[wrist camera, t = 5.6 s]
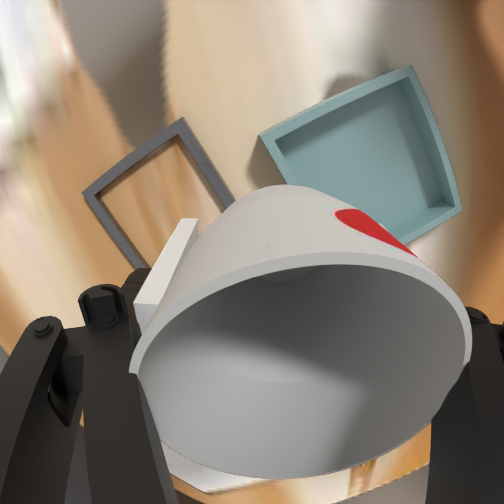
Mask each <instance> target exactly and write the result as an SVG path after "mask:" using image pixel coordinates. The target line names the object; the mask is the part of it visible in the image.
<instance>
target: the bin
mask: <svg viewBox="0 0 504 504" xmlns="http://www.w3.org/2000/svg"><path fill="white" fill-rule="evenodd" d="M259 136H260V138H261V139H262V141H263V143H264V144H265V146H266V148H267V150H268V151H269V153H270V155H271V156H272V158H273V160H274V162H275V163H276V165H277V167H278V169H279V170H280V172H281V174H282V176H283V177H284V179H285V181H286V183H287V184H288V185H300V186H305V187H309V188H312V189H315V190H318V191H320V192H322V193H325V194H327V195H329V196H331V197H334V198H336V199H338V200H340V201H343V202H345V203H347V204H349V205H351V206H353V207H355V208H357V209H359V210H361V211H362V212H364V213H365V214H367V215H368V216H369V217H371V218H372V219H373V220H374V221H376V222H377V223H378V224H382V225H383V226H384V227H385V228H386V229H387V230H388V232H389V233H390V234H391V235H393V236H394V237H395V238H396V239H397V240H398V241H400V242H401V243H402V244H403V245H405V244H407V243H409V242H411V241H412V240H414V239H416V238H417V237H419V236H421V235H423V234H424V233H426V232H428V231H429V230H431V229H433V228H434V227H436V226H438V225H439V224H441V223H443V222H444V221H446V220H448V219H449V218H451V217H453V216H454V215H456V214H458V213H459V212H461V211H462V205H461V201H460V197H459V193H458V189H457V185H456V182H455V178H454V175H453V171H452V168H451V164H450V161H449V158H448V155H447V152H446V148H445V145H444V142H443V140H442V137H441V134H440V131H439V128H438V126H437V123H436V120H435V118H434V115H433V113H432V110H431V108H430V105H429V103H428V100H427V98H426V95H425V93H424V91H423V89H422V86H421V84H420V82H419V80H418V78H417V75H416V73H415V71H414V69H413V67H412V65H410V66H405V67H401V68H396V69H394V70H392V71H389V72H387V73H384V74H382V75H379V76H377V77H375V78H372V79H370V80H368V81H365V82H363V83H361V84H359V85H356V86H354V87H352V88H350V89H347V90H345V91H343V92H341V93H339V94H337V95H334V96H332V97H330V98H328V99H326V100H324V101H322V102H320V103H318V104H316V105H314V106H312V107H310V108H308V109H306V110H304V111H302V112H300V113H298V114H296V115H294V116H292V117H290V118H288V119H286V120H284V121H282V122H280V123H279V124H277V125H275V126H273V127H271V128H269V129H267V130H266V131H264V132H262V133H260V134H259Z"/></svg>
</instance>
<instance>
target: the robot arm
mask: <svg viewBox="0 0 504 504" xmlns="http://www.w3.org/2000/svg"><path fill="white" fill-rule="evenodd" d="M379 225H381V226H382V227H383V228H384V229H385V230H387V229H386V228H385V227H384V226H383V225H382V224H379ZM387 231H388V230H387ZM198 238H199V224H198V219H181V220H180V222H179V224H178V225H177V227H176V229H175V230H174V232H173V234H172V235H171V237H170V239H169V240H168V242H167V244H166V245H165V247H164V249H163V251H162V252H161V254H160V256H159V257H158V259H157V261H156V263H155V264H154V266H153V268H138V269H137V270H135V271H134V272H132V273H131V274H130V275H129V276H128V278H127V279H126V281H125V284H123V285H122V287H121V288H120V287H118V286H116V285H112V284H101V285H97V286H93V287H91V288H89V289H87V290H85V291H84V292H83V293H82V294H81V295H80V297H79V299H78V303H79V306H80V309H81V312H82V315H83V318H84V321H85V324H86V325H85V326H83V327H76V328H68V329H64V328H63V326H62V323H61V321H60V320H59V319H58V318H57V317H53V316H46V317H40V318H38V319H36V320H34V321H33V322H31V323H30V324H29V325H28V326H27V328H26V329H25V331H24V332H23V334H22V336H21V337H20V339H19V341H18V343H17V344H16V346H15V348H14V350H13V351H12V353H11V355H10V357H9V359H8V361H7V363H6V364H5V366H4V368H3V370H2V372H1V374H0V504H64V502H65V494H66V489H67V482H68V476H69V471H70V465H71V460H72V455H73V449H74V445H75V440H76V436H77V432H78V427H79V423H80V419H81V415H82V411H83V415H84V435H85V449H86V460H87V470H88V478H89V485H90V492H91V499H92V504H179V501H178V498H177V496H176V492H175V489H174V486H173V483H172V480H171V477H170V473H169V470H168V467H167V463H166V460H165V456H164V453H163V449H162V445H161V442H160V438H159V434H158V431H157V428H156V425H155V422H154V419H153V416H152V413H151V410H150V407H149V404H148V401H147V398H146V395H145V392H144V390H143V387H142V385H141V383H140V381H139V379H138V377H137V374H134V373H129V367H130V362H131V358H132V355H133V353H134V350H135V348H136V346H137V344H138V342H139V340H140V338H141V336H142V334H143V332H144V330H145V328H146V327H147V325H148V323H149V321H150V319H151V317H152V315H153V314H154V312H155V310H156V308H157V306H158V304H159V303H160V301H161V299H162V297H163V295H164V294H165V292H166V290H167V288H168V286H169V285H170V283H171V281H172V279H173V278H174V276H175V274H176V272H177V270H178V269H179V267H180V265H181V263H182V262H183V260H184V258H185V257H186V255H187V253H188V251H189V250H190V248H191V247H192V245H193V244H194V243H195V241H196V240H197V239H198ZM465 309H466V311H467V314H468V317H469V320H470V324H471V330H472V350H471V356H470V361H469V362H468V363H467V364H466V366H465V368H464V370H463V372H462V373H461V375H460V377H459V379H458V380H457V382H456V383H455V384H454V385H453V386H452V388H451V389H450V391H449V392H448V394H447V396H446V397H445V399H444V401H443V403H442V405H441V407H440V409H439V410H438V412H437V413H436V415H435V416H434V418H433V419H432V422H431V450H430V465H429V476H428V486H427V494H426V502H425V504H504V322H503V324H502V325H499V324H492V323H490V321H489V319H488V317H487V316H486V315H485V314H484V313H483V312H481V311H479V310H478V309H475V308H472V307H465Z"/></svg>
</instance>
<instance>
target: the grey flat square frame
mask: <svg viewBox="0 0 504 504" xmlns="http://www.w3.org/2000/svg"><path fill="white" fill-rule="evenodd" d="M177 134H179V136H180V138H181V139H182V141H183V142H184V144H185V145H186V147H187V149H188V150H189V152H190V153H191V155H192V156H193V158H194V159H195V161H196V163H197V164H198V166H199V167H200V169H201V170H202V172H203V173H204V175H205V177H206V178H207V180H208V181H209V183H210V184H211V186H212V188H213V189H214V191H215V192H216V194H217V195H218V197H219V198H220V200H221V202H222V203H223V205H224V206H225V208H226V209H227V208H228V207H229V206H230V205H231V204H233V203H234V202H235V201H236V200H235V198H234V197H233V195H232V193H231V192H230V190H229V189H228V187H227V185H226V184H225V182H224V181H223V179H222V177H221V176H220V174H219V173H218V171H217V169H216V168H215V166H214V165H213V163H212V162H211V160H210V158H209V157H208V155H207V154H206V152H205V150H204V149H203V147H202V146H201V144H200V143H199V141H198V139H197V138H196V136H195V135H194V133H193V132H192V130H191V128H190V127H189V125H188V124H187V122H186V121H185V119H184V117H181V118H180V119H178V120H177V121H175V122H174V123H172V124H171V125H169V126H168V127H166V128H165V129H164V130H162V131H161V132H159V133H158V134H156V135H155V136H153V137H152V138H151V139H149V140H148V141H146V142H145V143H144V144H142V145H141V146H140V147H138V148H137V149H135V150H134V151H133V152H131V153H130V154H129V155H127V156H126V157H125V158H124V159H122V160H121V161H120V162H118V163H117V164H116V165H115V166H113V167H112V168H111V169H109V170H108V171H107V172H106V173H105V174H103V175H102V176H101V177H100V178H98V179H97V180H96V181H95V182H94V183H92V184H91V185H90V186H89V187H88V188H86V189H85V190H84V191H83V192H82V194H83V196H84V197H85V199H86V200H87V202H88V203H89V205H90V206H91V208H92V209H93V210H94V212H95V213H96V215H97V216H98V218H99V219H100V221H101V222H102V223H103V225H104V226H105V228H106V229H107V231H108V232H109V233H110V235H111V236H112V238H113V239H114V240H115V242H116V243H117V244H118V246H119V247H120V248H121V250H122V251H123V253H124V254H125V255H126V257H127V258H128V259H129V261H130V262H131V263H132V264H133V266H134V267H135V268H136V270H137V269H138V268H150V266H149V265H148V264H147V262H146V261H145V260H144V258H143V257H142V256H141V254H140V253H139V252H138V250H137V249H136V248H135V246H134V245H133V243H132V242H131V241H130V239H129V238H128V237H127V235H126V234H125V232H124V231H123V230H122V228H121V227H120V225H119V224H118V223H117V221H116V220H115V218H114V217H113V215H112V214H111V213H110V211H109V210H108V208H107V207H106V205H105V204H104V202H103V201H102V199H101V198H100V196H99V195H98V192H99V191H101V190H102V189H103V188H104V187H106V186H107V185H108V184H109V183H111V182H112V181H113V180H115V179H116V178H117V177H118V176H120V175H121V174H122V173H124V172H125V171H126V170H128V169H129V168H130V167H132V166H133V165H134V164H136V163H137V162H138V161H140V160H141V159H143V158H144V157H145V156H147V155H148V154H150V153H151V152H152V151H154V150H155V149H157V148H158V147H159V146H161V145H162V144H164V143H165V142H167V141H168V140H170V139H171V138H173V137H174V136H176V135H177Z"/></svg>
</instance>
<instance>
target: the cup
mask: <svg viewBox="0 0 504 504" xmlns="http://www.w3.org/2000/svg"><path fill="white" fill-rule="evenodd" d="M471 350H472V330H471V324H470V320H469V317H468V314H467V311H466V309H465V307H464V305H463V303H462V302H461V300H460V299H459V297H458V296H457V295H456V293H455V292H454V291H453V290H452V289H451V288H450V287H449V286H448V285H447V284H446V283H445V282H444V281H443V280H442V279H441V278H440V277H439V276H438V275H436V274H435V273H434V272H433V271H432V270H431V269H430V268H429V267H428V266H427V265H426V264H425V263H423V262H422V261H421V260H420V259H419V258H418V257H417V256H416V255H414V254H413V253H412V252H411V251H410V250H409V249H408V248H407V247H405V246H404V245H403V244H402V243H401V242H400V241H398V240H397V239H396V238H395V237H394V236H393V235H391V234H390V233H389V232H388V231H387V230H385V229H384V228H383V227H382V226H381V225H379V224H378V223H377V222H376V221H374V220H373V219H372V218H371V217H369V216H368V215H367V214H365V213H364V212H362V211H361V210H359V209H357V208H355V207H353V206H351V205H349V204H347V203H345V202H343V201H340V200H338V199H336V198H334V197H331V196H329V195H327V194H325V193H322V192H320V191H318V190H315V189H312V188H309V187H305V186H300V185H288V184H286V185H273V186H268V187H264V188H261V189H258V190H255V191H252V192H250V193H248V194H246V195H244V196H243V197H241V198H239V199H238V200H237V201H235V202H234V203H233V204H231V205H230V206H229V207H228V208H227V209H226V210H225V211H224V212H223V213H222V214H221V215H220V216H219V217H218V218H217V219H216V220H215V221H214V222H213V223H212V224H211V225H210V226H209V227H208V228H207V229H206V230H205V231H204V232H203V233H202V234H201V236H200V237H199V238H198V239H197V240H196V241H195V243H194V244H193V245H192V247H191V248H190V250H189V251H188V253H187V255H186V257H185V258H184V260H183V262H182V263H181V265H180V267H179V269H178V270H177V272H176V274H175V276H174V278H173V279H172V281H171V283H170V285H169V286H168V288H167V290H166V292H165V294H164V295H163V297H162V299H161V301H160V303H159V304H158V306H157V308H156V310H155V312H154V314H153V315H152V317H151V319H150V321H149V323H148V325H147V327H146V328H145V330H144V332H143V334H142V336H141V338H140V340H139V342H138V344H137V346H136V348H135V350H134V353H133V355H132V358H131V362H130V367H129V373H134V374H137V377H138V379H139V381H140V383H141V385H142V387H143V390H144V392H145V395H146V398H147V401H148V404H149V407H150V410H151V413H152V416H153V419H154V422H155V425H156V428H157V431H158V434H159V438H160V440H161V441H162V442H163V443H164V444H166V445H167V446H168V447H170V448H171V449H173V450H174V451H176V452H177V453H179V454H180V455H182V456H184V457H186V458H188V459H190V460H192V461H194V462H196V463H199V464H201V465H204V466H206V467H209V468H212V469H215V470H218V471H222V472H226V473H230V474H234V475H239V476H245V477H253V478H264V479H294V478H305V477H313V476H319V475H325V474H330V473H334V472H338V471H342V470H345V469H349V468H352V467H355V466H358V465H361V464H363V463H366V462H368V461H371V460H373V459H375V458H378V457H380V456H382V455H384V454H386V453H388V452H390V451H391V450H393V449H395V448H397V447H398V446H400V445H402V444H403V443H405V442H406V441H408V440H409V439H411V438H412V437H413V436H415V435H416V434H417V433H419V432H420V431H421V430H422V429H424V428H425V427H426V426H427V425H428V424H429V423H430V422H432V419H433V418H434V416H435V415H436V413H437V412H438V410H439V409H440V407H441V405H442V403H443V401H444V399H445V397H446V396H447V394H448V392H449V391H450V389H451V388H452V386H453V385H454V384H455V383H456V382H457V380H458V379H459V377H460V375H461V373H462V372H463V370H464V368H465V366H466V364H467V363H468V362H469V361H470V356H471Z"/></svg>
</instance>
